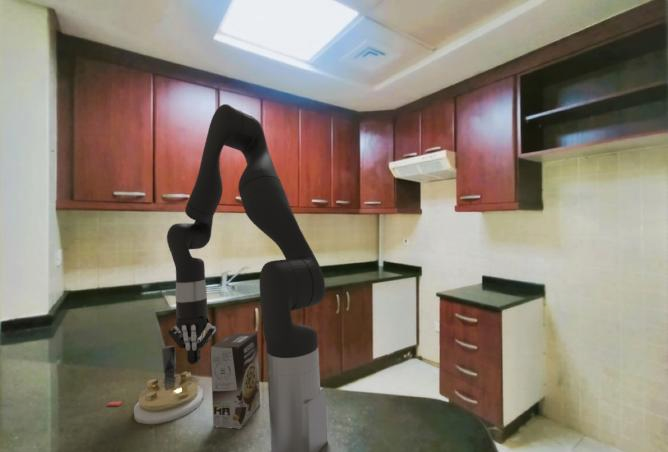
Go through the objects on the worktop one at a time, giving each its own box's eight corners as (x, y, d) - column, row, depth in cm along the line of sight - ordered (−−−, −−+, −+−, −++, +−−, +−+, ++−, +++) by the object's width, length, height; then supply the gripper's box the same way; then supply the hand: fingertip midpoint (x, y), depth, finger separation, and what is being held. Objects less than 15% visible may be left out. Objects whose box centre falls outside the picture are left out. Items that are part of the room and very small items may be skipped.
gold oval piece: (200, 400, 69) (199, 364, 69) (136, 418, 63) (135, 378, 63) (194, 370, 85) (193, 341, 85) (143, 382, 80) (142, 350, 80)
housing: (216, 396, 74) (215, 389, 74) (160, 430, 62) (160, 423, 62) (177, 386, 81) (177, 380, 81) (120, 415, 68) (120, 408, 68)
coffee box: (241, 430, 61) (238, 347, 61) (212, 427, 62) (208, 346, 62) (261, 404, 70) (258, 332, 70) (235, 402, 71) (232, 331, 71)
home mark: (123, 403, 73) (122, 401, 73) (118, 406, 72) (118, 404, 72) (111, 403, 74) (111, 401, 74) (107, 406, 73) (107, 404, 73)
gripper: (221, 294, 86) (224, 357, 86) (176, 295, 87) (178, 358, 87) (208, 300, 79) (211, 369, 78) (159, 301, 79) (161, 370, 79)
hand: (194, 363), depth 82 cm, fingers closed
